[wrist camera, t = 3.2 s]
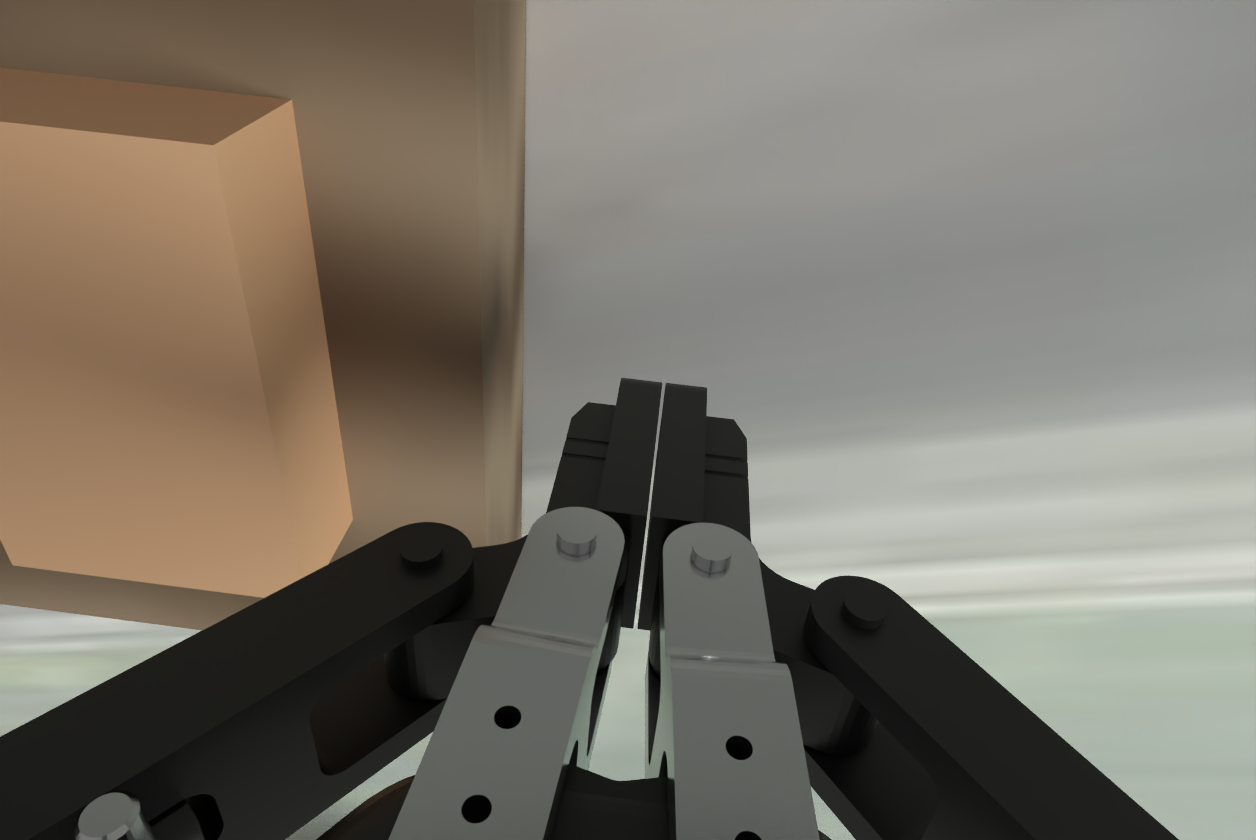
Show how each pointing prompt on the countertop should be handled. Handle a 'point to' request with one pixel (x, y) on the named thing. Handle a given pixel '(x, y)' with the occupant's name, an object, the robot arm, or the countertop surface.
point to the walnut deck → (354, 239)
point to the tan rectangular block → (162, 339)
